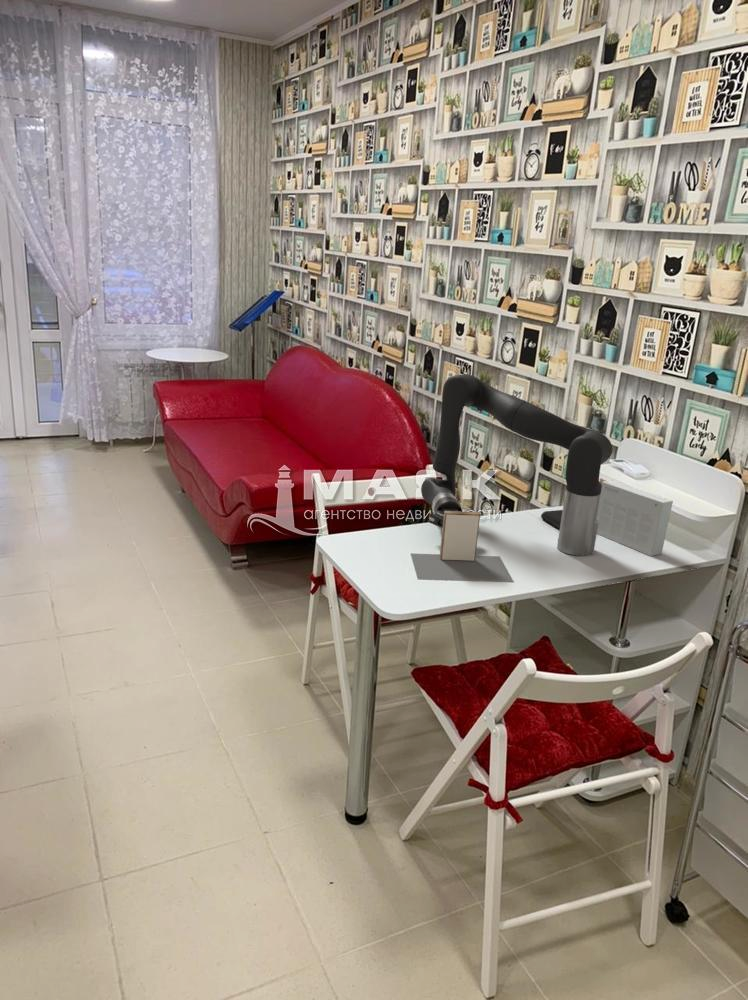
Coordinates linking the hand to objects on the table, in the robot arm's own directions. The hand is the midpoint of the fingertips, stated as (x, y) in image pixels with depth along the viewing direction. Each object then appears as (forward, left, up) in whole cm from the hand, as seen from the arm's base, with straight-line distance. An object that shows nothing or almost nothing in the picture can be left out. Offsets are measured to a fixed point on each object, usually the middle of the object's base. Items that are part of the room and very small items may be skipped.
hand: (456, 530), depth 199 cm
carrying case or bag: (-39, -26, -8) cm, 48 cm away
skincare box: (-53, -14, -7) cm, 55 cm away
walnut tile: (0, +4, -6) cm, 8 cm away
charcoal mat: (0, +9, -7) cm, 12 cm away
